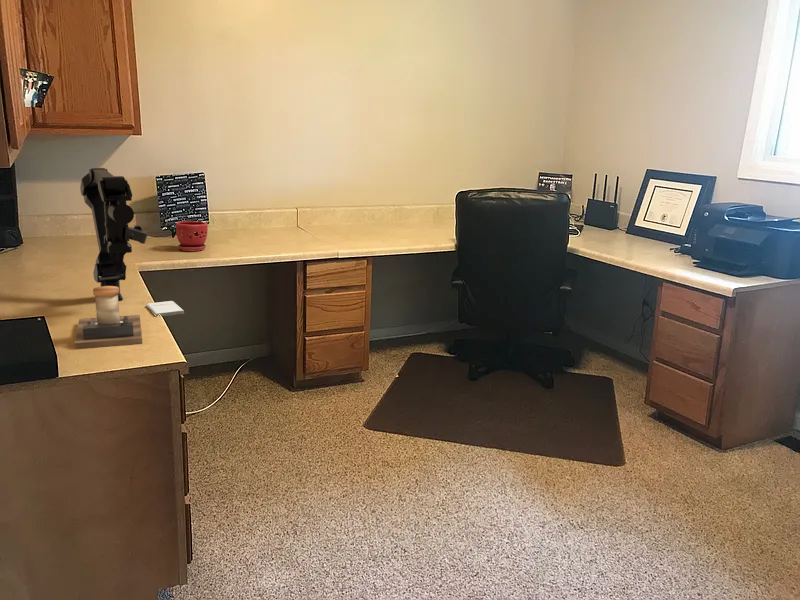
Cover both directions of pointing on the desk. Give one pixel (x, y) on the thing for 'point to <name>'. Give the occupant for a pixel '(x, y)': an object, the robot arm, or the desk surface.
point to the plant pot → (191, 235)
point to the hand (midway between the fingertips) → (119, 271)
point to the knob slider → (107, 304)
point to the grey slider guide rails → (108, 330)
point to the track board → (109, 341)
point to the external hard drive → (165, 308)
